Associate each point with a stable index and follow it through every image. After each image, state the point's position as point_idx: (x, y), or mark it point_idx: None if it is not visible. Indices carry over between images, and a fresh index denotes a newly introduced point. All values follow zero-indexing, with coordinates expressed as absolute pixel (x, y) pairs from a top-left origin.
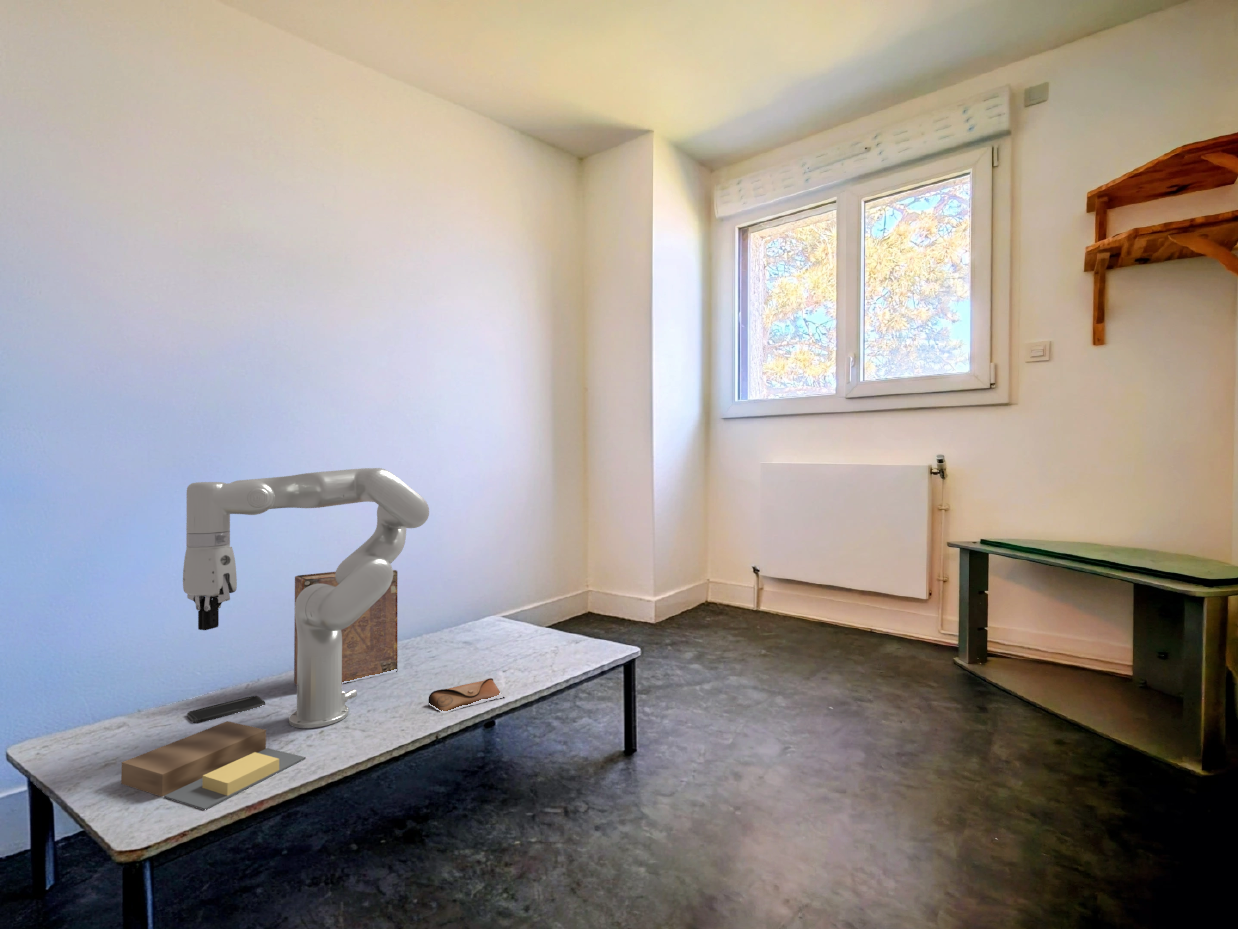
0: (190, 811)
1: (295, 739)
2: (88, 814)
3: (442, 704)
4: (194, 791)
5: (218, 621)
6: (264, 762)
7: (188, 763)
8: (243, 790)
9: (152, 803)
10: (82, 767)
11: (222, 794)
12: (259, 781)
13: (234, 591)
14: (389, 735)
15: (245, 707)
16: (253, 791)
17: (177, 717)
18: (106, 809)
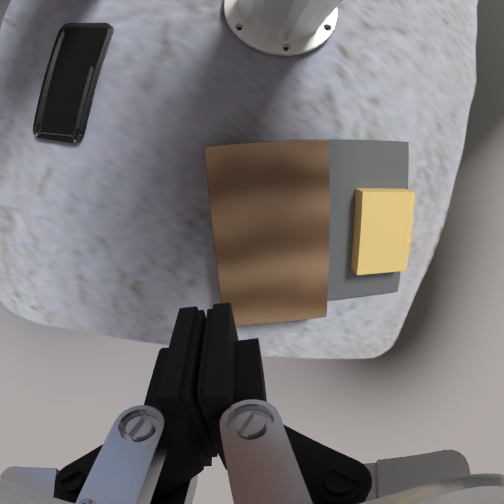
0: (382, 298)
1: (329, 90)
2: (275, 352)
3: None
4: (350, 278)
5: (228, 318)
6: (405, 210)
7: (327, 283)
8: None
9: None
10: (118, 306)
11: None
12: None
13: (492, 479)
14: (445, 41)
15: (96, 56)
16: (414, 238)
17: (32, 149)
18: (283, 340)
